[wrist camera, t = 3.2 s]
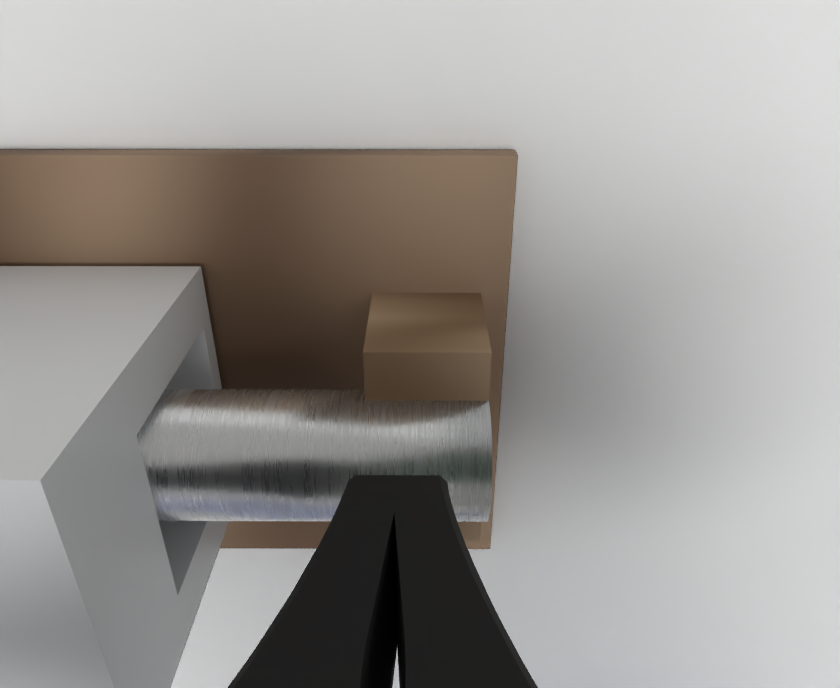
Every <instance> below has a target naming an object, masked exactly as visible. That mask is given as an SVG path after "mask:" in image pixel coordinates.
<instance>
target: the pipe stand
mask: <svg viewBox="0 0 840 688" xmlns="http://www.w3.org/2000/svg"><path fill="white" fill-rule="evenodd" d="M517 161H518V155H517V153H516V151H515V150H55V149H0V266H201V269H202V275H203V281H204V287H205V293H206V298H207V304H208V310H209V316H210V322H211V328H212V333H213V339H214V345H215V351H216V357H217V363H218V368H219V374H220V380H221V386H222V389H316V390H365V401H489V406H490V415H491V430H492V498H491V509H490V516H489V520H488V521H487V522H458V525H459V528H460V530H461V533H462V536H463V538H464V541H465V544H466V546H467V549H490V543H491V529H492V515H493V501H494V487H495V472H496V458H497V444H498V430H499V416H500V402H501V388H502V373H503V359H504V345H505V331H506V317H507V303H508V288H509V274H510V260H511V246H512V232H513V218H514V203H515V189H516V175H517ZM330 522H331V521H229V523H228V526H227V528H226V531H225V534H224V537H223V540H222V543H221V545H220V548H318V546H319V544H320V542H321V540H322V538H323V536H324V534H325V532H326V530H327V528H328V526H329V524H330Z"/></svg>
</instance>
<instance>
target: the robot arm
mask: <svg viewBox="0 0 840 688" xmlns="http://www.w3.org/2000/svg"><path fill="white" fill-rule="evenodd" d="M397 647H398V665H399V682H400V688H538V687H537V686H536V684H535V682H534V681H533V679H532V677H531V675H530V674H529V672H528V670H527V668H526V667H525V665H524V663H523V661H522V660H521V658H520V656H519V654H518V652H517V650H516V649H515V647H514V645H513V643H512V641H511V639H510V637H509V636H508V634H507V632H506V630H505V628H504V626H503V624H502V622H501V620H500V618H499V616H498V614H497V612H496V611H495V609H494V607H493V605H492V603H491V600H490V598H489V596H488V594H487V592H486V589H485V587H484V585H483V583H482V581H481V579H480V576H479V574H478V572H477V570H476V568H475V566H474V563H473V561H472V559H471V556H470V554H469V551H468V549H467V546H466V544H465V541H464V538H463V536H462V533H461V530H460V528H459V525H458V522H457V519H456V516H455V513H454V510H453V506H452V503H451V499H450V495H449V490H448V484H447V481H446V480H444V479H443V478H442V477H441V476H440V475H355V476H353V477H352V478H351V479H350V480H349V481H348V482H347V485H346V487H345V490H344V493H343V495H342V498H341V500H340V503H339V505H338V507H337V509H336V512H335V514H334V516H333V518H332V520H331V522H330V524H329V526H328V528H327V530H326V532H325V534H324V536H323V538H322V540H321V542H320V544H319V546H318V548H317V549H316V551H315V553H314V555H313V556H312V558H311V560H310V562H309V563H308V565H307V567H306V569H305V570H304V572H303V574H302V576H301V577H300V579H299V581H298V583H297V584H296V586H295V588H294V590H293V591H292V593H291V595H290V596H289V598H288V599H287V601H286V603H285V604H284V606H283V607H282V609H281V610H280V612H279V613H278V615H277V616H276V618H275V619H274V621H273V623H272V624H271V626H270V627H269V629H268V630H267V632H266V633H265V635H264V636H263V638H262V639H261V641H260V642H259V644H258V646H257V647H256V649H255V650H254V652H253V653H252V654H251V656H250V657H249V659H248V660H247V662H246V663H245V664H244V666H243V667H242V669H241V670H240V671H239V673H238V674H237V676H236V677H235V678H234V680H233V681H232V682H231V684H230V685H229V687H228V688H392V684H393V676H394V668H395V660H396V651H397Z"/></svg>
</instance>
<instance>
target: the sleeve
mask: <svg viewBox="0 0 840 688" xmlns="http://www.w3.org/2000/svg"><path fill="white" fill-rule="evenodd" d="M165 389H222V386H221V380H220V374H219V368H218V363H217V357H216V351H215V345H214V339H213V333H212V328H211V322H210V316H209V310H208V304H207V298H206V293H205V287H204V281H203V275H202V269H201V266H0V688H170V687H171V685H172V682H173V679H174V676H175V673H176V670H177V668H178V665H179V662H180V659H181V656H182V653H183V650H184V648H185V645H186V642H187V639H188V636H189V633H190V631H191V628H192V625H193V622H194V619H195V616H196V614H197V611H198V608H199V605H200V602H201V599H202V597H203V594H204V591H205V588H206V585H207V582H208V580H209V577H210V574H211V571H212V568H213V565H214V562H215V560H216V557H217V554H218V551H219V548H220V545H221V543H222V540H223V537H224V534H225V531H226V528H227V526H228V523H229V521H159V520H158V516H157V513H156V509H155V505H154V501H153V497H152V493H151V489H150V485H149V481H148V477H147V473H146V470H145V466H144V462H143V458H142V454H141V450H140V446H139V442H138V438H137V434H138V432H139V431H140V429H141V427H142V426H143V424H144V422H145V421H146V419H147V418H148V416H149V414H150V413H151V411H152V409H153V408H154V406H155V405H156V403H157V401H158V400H159V398H160V397H161V395H162V393H163V392H164V390H165Z"/></svg>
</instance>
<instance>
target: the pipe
mask: <svg viewBox="0 0 840 688" xmlns="http://www.w3.org/2000/svg"><path fill="white" fill-rule="evenodd" d="M137 438H138V442H139V446H140V450H141V454H142V458H143V462H144V466H145V470H146V473H147V477H148V481H149V485H150V489H151V493H152V497H153V501H154V505H155V509H156V513H157V516H158V520H159V521H331V520H332V518H333V516H334V514H335V512H336V509H337V507H338V505H339V503H340V500H341V498H342V495H343V493H344V490H345V487H346V485H347V482H348V481H349V480H350V479H351V478H352V477H353V476H355V475H440V476H441V477H442V478H443V479H444V480H446V481H447V484H448V490H449V495H450V499H451V503H452V506H453V510H454V513H455V516H456V519H457V522H487V521H488V520H489V516H490V509H491V498H492V430H491V415H490V406H489V401H365V390H316V389H165V390H164V392H163V393H162V395H161V397H160V398H159V400H158V401H157V403H156V405H155V406H154V408H153V409H152V411H151V413H150V414H149V416H148V418H147V419H146V421H145V422H144V424H143V426H142V427H141V429H140V431H139V432H138V434H137Z"/></svg>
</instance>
